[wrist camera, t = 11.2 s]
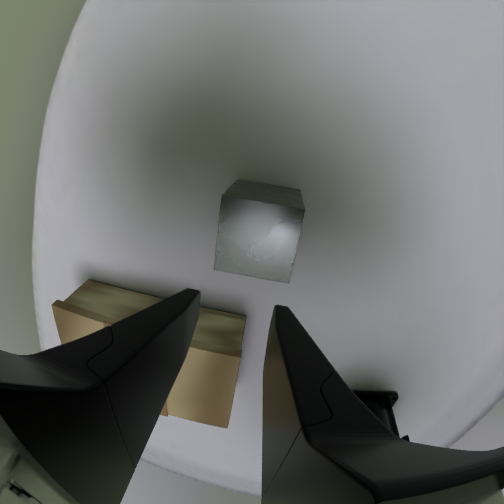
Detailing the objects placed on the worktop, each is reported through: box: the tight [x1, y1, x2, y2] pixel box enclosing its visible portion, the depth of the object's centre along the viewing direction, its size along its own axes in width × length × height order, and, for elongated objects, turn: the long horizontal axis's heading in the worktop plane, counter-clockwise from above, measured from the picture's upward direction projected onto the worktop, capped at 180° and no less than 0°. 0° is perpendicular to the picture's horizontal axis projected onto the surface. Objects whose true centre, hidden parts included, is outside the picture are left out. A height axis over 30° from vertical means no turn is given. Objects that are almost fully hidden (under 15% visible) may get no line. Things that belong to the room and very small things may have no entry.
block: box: [214, 180, 305, 283], centre depth 17 cm, size 4×4×5 cm
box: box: [63, 280, 246, 349], centre depth 22 cm, size 14×8×4 cm, turn 82°
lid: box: [52, 300, 242, 428], centre depth 20 cm, size 14×9×1 cm, turn 82°
